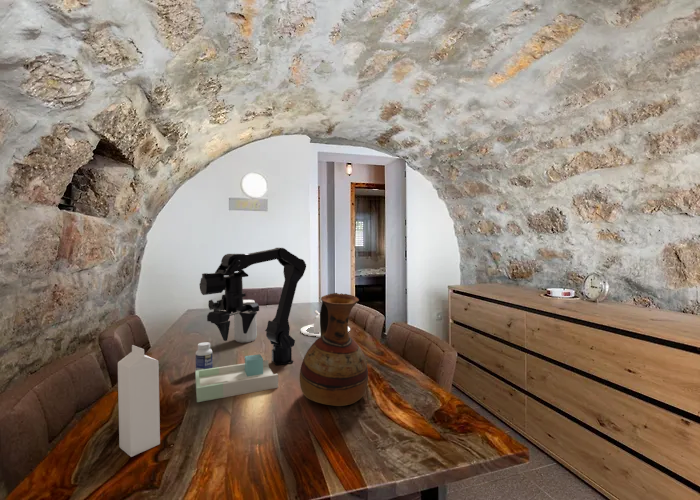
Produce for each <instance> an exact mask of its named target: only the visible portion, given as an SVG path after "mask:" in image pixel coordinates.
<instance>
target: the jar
mask: <svg viewBox="0 0 700 500" xmlns="http://www.w3.org/2000/svg"><path fill="white" fill-rule="evenodd" d="M247 302H250V303H256V302H255V300H254V299H243V303H247ZM233 317H234V318H233V319H234V320H233V323H234V325H233V326H234V328H233V330H234V331H233V332H234V333H233V334H234V337H233V338H234V340H235V341H236V342H237V343H241V344H242V343H244V344H245V343H251V341H252V342H254V341H255V340H256V339H257V314H256V315H255V316H254V318H253V320H252V322H251V324H250V327H249V329H248V331H247V333H246V334H244V333H243V325H242V317H241V316H240V314H239V313H238V314H235V315H233Z"/></svg>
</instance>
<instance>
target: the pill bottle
mask: <svg viewBox="0 0 700 500" xmlns="http://www.w3.org/2000/svg"><path fill="white" fill-rule="evenodd" d="M209 368H214V367H213V350H212V348H211V342H207V341H205V342H199V343H198V344H197V350H196V351H195V371H196V370H203V369H209Z"/></svg>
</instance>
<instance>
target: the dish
mask: <svg viewBox="0 0 700 500" xmlns="http://www.w3.org/2000/svg"><path fill="white" fill-rule="evenodd" d="M314 313H315V314H316V316H315V317H314V318H313V323H312V324H308V325H304V326H303V327H301V328H300V333H301V334H302V333H303V334H305V335H304V336H306V335H308V336H307V337H310V336H316V337H315V338H320V336H321V328H320V312H319V311H318V310H317V309H316V310H315V311H314ZM310 327H314V332H319V334H314V333H309V332H307V331H306V330H307V329H308V328H310ZM349 331H351V328H350V326H348V332H349ZM349 333H350V332H349ZM303 334H302V335H303Z"/></svg>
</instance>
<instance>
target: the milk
mask: <svg viewBox="0 0 700 500" xmlns="http://www.w3.org/2000/svg"><path fill="white" fill-rule="evenodd" d="M159 371H160V369H159V360H158V359H155V358H154V357H150V356H149V355H147V354H145V349H144V348H142V347H140V346H136V345H134V344H132V345H131V351H130V352H129V353H128V354H126V355H125V357H123V358H122V359H120V360H119V361H118V362H117V391H118V392H117V393H118V396H117V397H118V398H117V399H118V434H119V435H118V436H119V438H118V439H119V440H118V443H119V448H120V449H121V450H122V451H123V452H124V453H125V454H127V456H130V458H132V457H134V456H137V455H139V454H140V453H143V452H145V451H148V450H150V449H152V448H155V447H156V446H159V445H161V433H160V432H161V430H160V429H161V428H160V427H161V425H160V424H161V423H160V422H161V420H160V416H161V415H160V374H159V373H160V372H159Z"/></svg>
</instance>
